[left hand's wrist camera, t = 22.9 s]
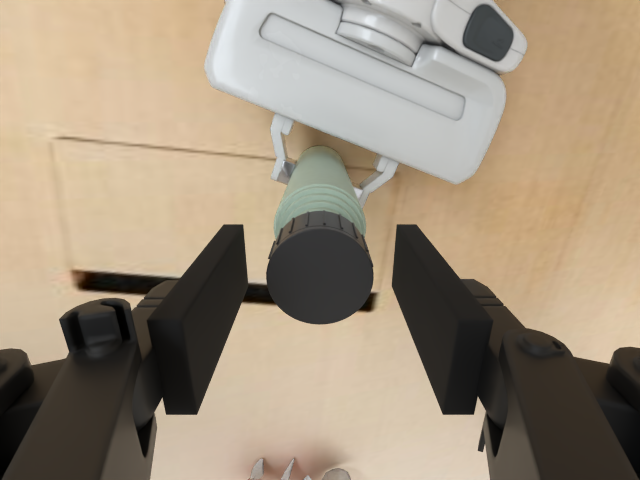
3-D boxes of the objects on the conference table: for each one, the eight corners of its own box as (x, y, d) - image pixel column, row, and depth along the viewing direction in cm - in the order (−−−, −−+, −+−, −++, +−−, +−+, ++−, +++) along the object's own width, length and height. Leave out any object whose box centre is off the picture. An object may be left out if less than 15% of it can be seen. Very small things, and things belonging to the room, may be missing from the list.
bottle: (302, 198, 34) (277, 332, 14) (290, 151, 32) (242, 226, 12) (348, 188, 33) (390, 309, 13) (338, 140, 32) (369, 198, 12)
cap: (253, 262, 14) (243, 287, 12) (311, 189, 13) (309, 204, 11) (327, 311, 15) (328, 343, 13) (386, 246, 14) (397, 270, 12)
